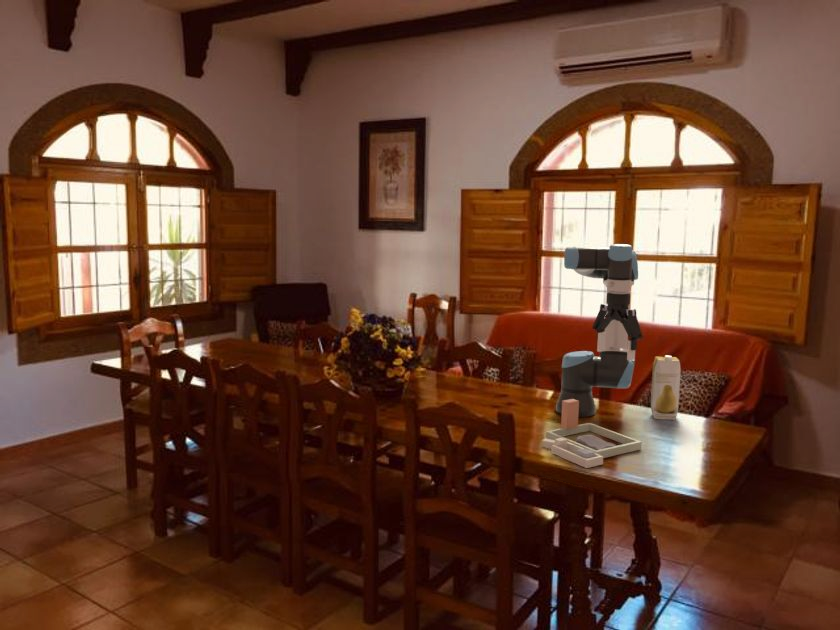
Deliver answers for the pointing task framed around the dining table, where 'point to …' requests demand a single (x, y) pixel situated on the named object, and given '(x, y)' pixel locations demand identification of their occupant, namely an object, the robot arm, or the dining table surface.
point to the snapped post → (548, 443)
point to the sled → (563, 446)
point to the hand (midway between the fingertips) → (615, 355)
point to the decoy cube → (585, 453)
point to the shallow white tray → (571, 427)
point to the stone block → (594, 442)
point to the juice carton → (665, 387)
